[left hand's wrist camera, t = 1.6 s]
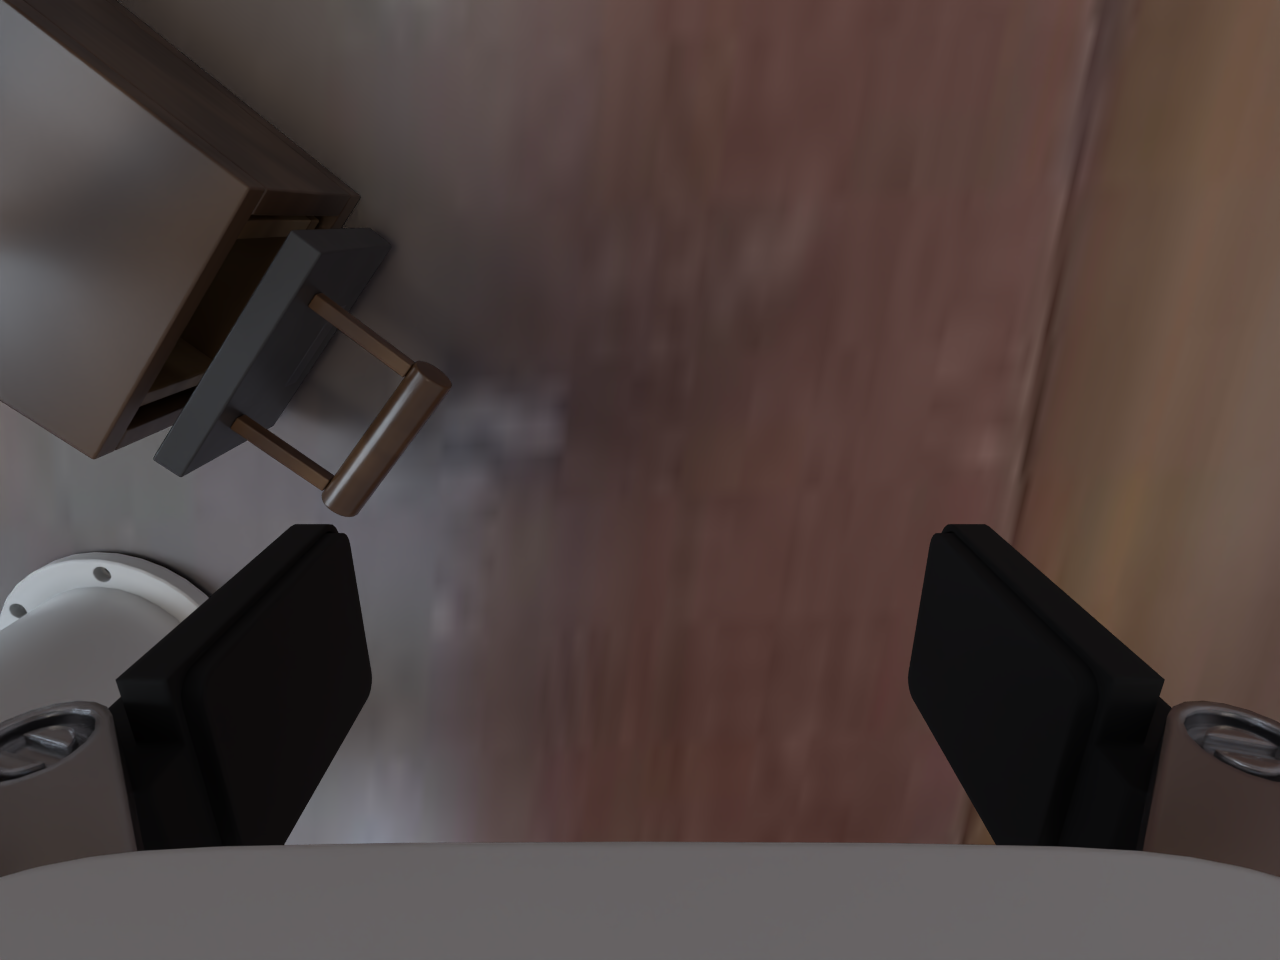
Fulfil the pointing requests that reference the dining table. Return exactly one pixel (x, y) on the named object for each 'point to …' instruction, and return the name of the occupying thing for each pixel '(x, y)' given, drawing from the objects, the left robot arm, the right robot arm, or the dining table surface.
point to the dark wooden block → (121, 211)
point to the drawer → (287, 355)
